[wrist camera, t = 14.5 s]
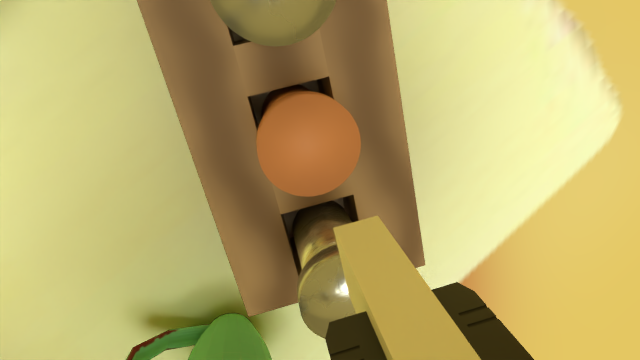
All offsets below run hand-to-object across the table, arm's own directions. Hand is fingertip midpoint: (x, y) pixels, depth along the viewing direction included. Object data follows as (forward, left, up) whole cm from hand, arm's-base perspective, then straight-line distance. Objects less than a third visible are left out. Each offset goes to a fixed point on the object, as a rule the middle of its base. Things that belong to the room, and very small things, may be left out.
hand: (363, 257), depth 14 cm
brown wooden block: (0, 0, -27) cm, 27 cm away
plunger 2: (0, -9, -21) cm, 23 cm away
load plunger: (0, 0, -24) cm, 24 cm away
